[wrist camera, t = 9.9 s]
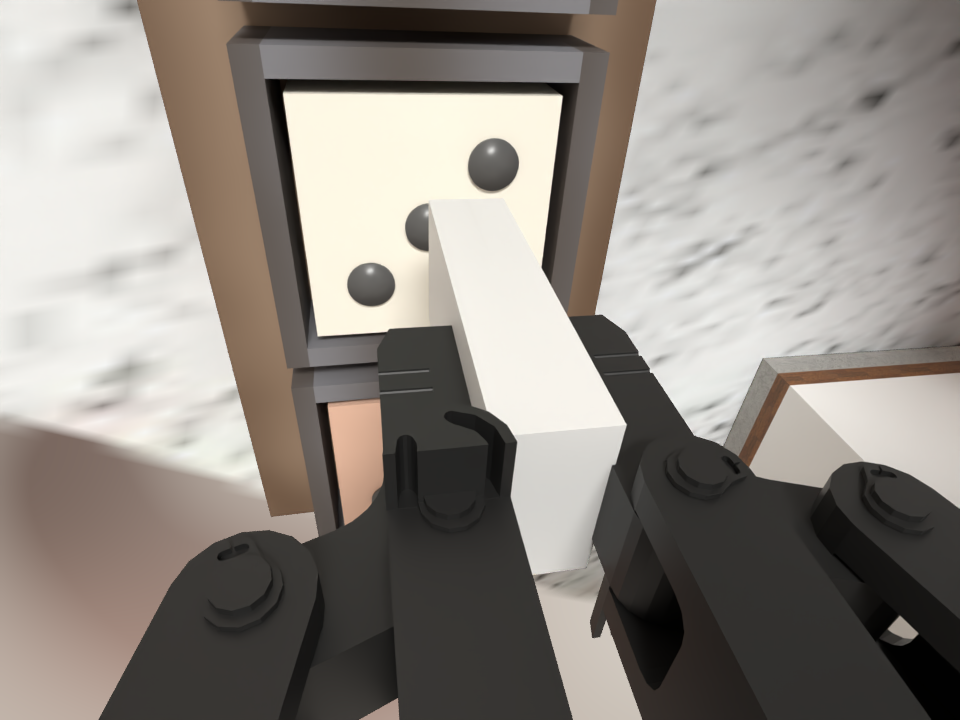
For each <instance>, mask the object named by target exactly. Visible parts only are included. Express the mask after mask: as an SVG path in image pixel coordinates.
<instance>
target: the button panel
mask: <svg viewBox="0 0 960 720" xmlns="http://www.w3.org/2000/svg"><path fill="white" fill-rule="evenodd" d="M137 2H138V6H139V10H140V14H141V18H142V21H143V25H144V29H145V33H146V37H147V41H148V45H149V48H150V52H151V56H152V60H153V64H154V68H155V72H156V75H157V79H158V83H159V87H160V91H161V95H162V99H163V102H164V106H165V110H166V114H167V118H168V122H169V126H170V129H171V133H172V137H173V141H174V145H175V149H176V152H177V156H178V160H179V164H180V168H181V172H182V176H183V179H184V183H185V187H186V191H187V195H188V199H189V203H190V206H191V210H192V214H193V218H194V222H195V226H196V230H197V233H198V237H199V241H200V245H201V249H202V253H203V257H204V260H205V264H206V268H207V272H208V276H209V280H210V284H211V287H212V291H213V295H214V299H215V303H216V307H217V311H218V314H219V318H220V322H221V326H222V330H223V334H224V338H225V341H226V345H227V349H228V353H229V357H230V361H231V364H232V368H233V372H234V376H235V380H236V384H237V388H238V391H239V395H240V399H241V403H242V407H243V411H244V415H245V418H246V422H247V426H248V430H249V434H250V438H251V442H252V445H253V449H254V453H255V457H256V461H257V465H258V469H259V472H260V476H261V480H262V484H263V488H264V492H265V496H266V499H267V503H268V507H269V511H270V515H271V517H273V516H282V515H290V514H298V513H307V512H314V513H315V518H316V524H317V529H318V534H319V537H320V536H322V535H325V534H327V533H330V532H332V531H335V530H337V529H339V528H340V527H342V526H344V525H345V524H344V517H343V510H342V503H341V496H340V489H339V482H338V475H337V468H336V461H335V454H334V447H333V440H332V433H331V426H330V419H329V412H328V402H335V401H346V400H358V399H369V398H380V391H379V375H378V358H377V348H378V346H379V345H380V343H381V341H382V340H383V338H384V336H385V335H386V333H387V332H378V333H362V334H347V335H332V336H318V335H317V328H316V321H315V314H314V307H313V300H312V293H311V286H310V279H309V272H308V265H307V258H306V251H305V244H304V237H303V230H302V223H301V216H300V209H299V202H298V195H297V188H296V181H295V174H294V167H293V160H292V153H291V146H290V139H289V132H288V125H287V118H286V111H285V104H284V97H283V92H284V89H285V86H286V83H287V80H288V79H330V80H404V81H479V82H545V83H546V84H547V85H549V86H550V87H551V88H553V89H554V90H555V91H557V92H558V93H559V94H561V95H562V96H563V98H562V106H561V114H560V122H559V130H558V138H557V146H556V154H555V162H554V170H553V178H552V186H551V194H550V202H549V210H548V218H547V226H546V234H545V242H544V250H543V258H542V266H541V268H542V270H543V272H544V274H545V276H546V277H547V279H548V281H549V283H550V285H551V287H552V288H553V290H554V292H555V294H556V296H557V298H558V299H559V301H560V303H561V305H562V307H563V309H564V311H565V312H566V314H567V316H568V317H571V316H590V315H595V310H596V305H597V300H598V295H599V290H600V285H601V280H602V274H603V269H604V264H605V259H606V254H607V249H608V244H609V239H610V234H611V229H612V224H613V218H614V213H615V208H616V203H617V198H618V193H619V188H620V183H621V178H622V173H623V168H624V162H625V157H626V152H627V147H628V142H629V137H630V132H631V127H632V122H633V117H634V112H635V106H636V101H637V96H638V91H639V86H640V81H641V76H642V71H643V66H644V61H645V56H646V50H647V45H648V40H649V35H650V30H651V25H652V20H653V15H654V10H655V5H656V0H137Z"/></svg>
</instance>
